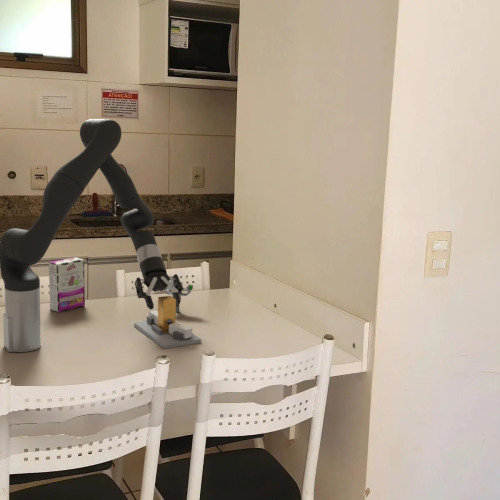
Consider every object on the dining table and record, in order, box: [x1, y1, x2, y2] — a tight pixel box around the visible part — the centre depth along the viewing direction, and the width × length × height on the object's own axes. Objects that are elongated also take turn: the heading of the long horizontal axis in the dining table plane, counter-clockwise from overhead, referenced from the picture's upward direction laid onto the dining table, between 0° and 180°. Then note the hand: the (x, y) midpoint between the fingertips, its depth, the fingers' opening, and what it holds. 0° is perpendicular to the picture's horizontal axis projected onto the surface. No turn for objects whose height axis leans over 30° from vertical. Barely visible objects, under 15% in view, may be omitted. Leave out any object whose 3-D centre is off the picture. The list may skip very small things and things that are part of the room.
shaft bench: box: [133, 309, 202, 349], centre depth 205 cm, size 12×22×4 cm, turn 32°
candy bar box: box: [48, 256, 86, 313], centre depth 225 cm, size 11×5×16 cm, turn 143°
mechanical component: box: [163, 280, 194, 313], centre depth 227 cm, size 3×10×10 cm, turn 78°
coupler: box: [157, 295, 177, 333], centre depth 204 cm, size 4×5×10 cm
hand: (165, 306), depth 205 cm, fingers open, 8 cm apart
